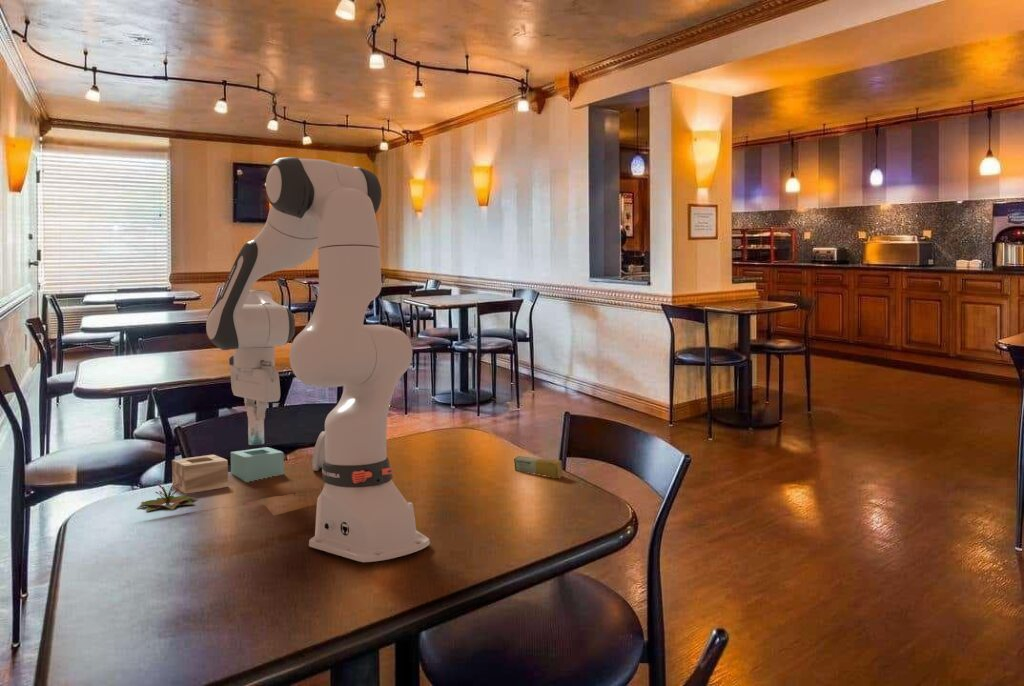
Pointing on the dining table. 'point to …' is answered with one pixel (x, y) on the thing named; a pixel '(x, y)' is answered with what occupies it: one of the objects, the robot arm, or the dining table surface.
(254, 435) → the lock pin
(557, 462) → the medication box
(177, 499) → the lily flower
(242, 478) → the teal socket
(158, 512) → the dining table surface
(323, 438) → the mechanical component
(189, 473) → the block
